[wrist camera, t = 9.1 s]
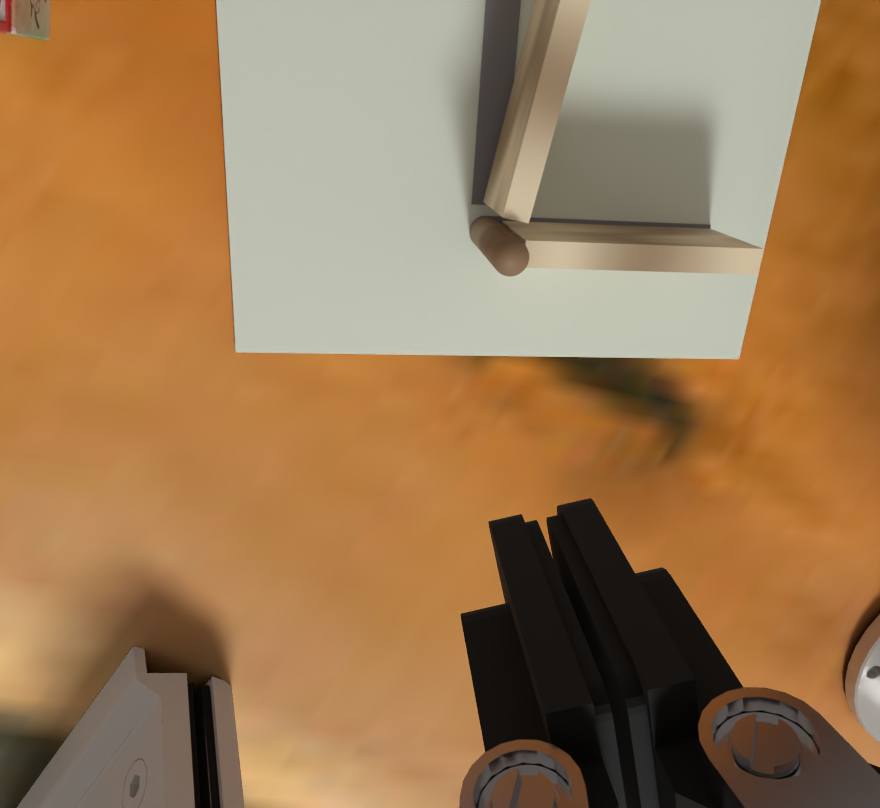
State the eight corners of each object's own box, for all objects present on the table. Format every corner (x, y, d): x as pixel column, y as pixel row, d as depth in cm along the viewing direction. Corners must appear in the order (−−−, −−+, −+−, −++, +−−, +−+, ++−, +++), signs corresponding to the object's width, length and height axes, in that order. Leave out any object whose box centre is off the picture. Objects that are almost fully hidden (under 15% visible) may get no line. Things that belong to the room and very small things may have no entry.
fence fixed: (707, 223, 29) (775, 248, 24) (702, 253, 29) (767, 283, 25) (469, 214, 28) (494, 238, 23) (467, 245, 28) (491, 275, 24)
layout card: (851, -150, 24) (857, -152, 24) (736, 357, 31) (739, 359, 31) (204, -223, 22) (202, -227, 21) (236, 350, 29) (235, 352, 28)
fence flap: (506, 207, 27) (528, 223, 24) (483, 201, 27) (502, 217, 24) (574, -48, 24) (610, -70, 21) (548, -56, 24) (581, -79, 21)
